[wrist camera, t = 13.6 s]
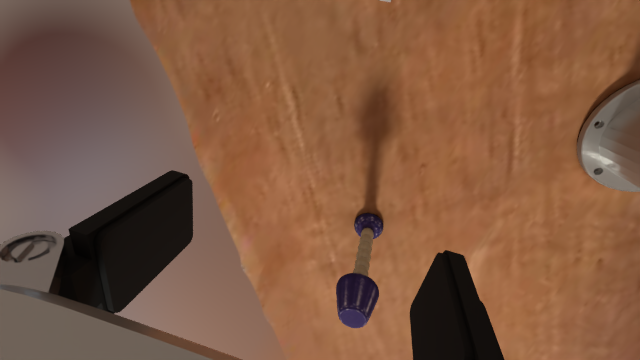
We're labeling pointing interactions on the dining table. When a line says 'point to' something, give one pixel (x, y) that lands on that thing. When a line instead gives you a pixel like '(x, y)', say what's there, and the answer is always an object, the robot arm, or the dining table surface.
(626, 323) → the dining table surface
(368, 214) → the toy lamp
